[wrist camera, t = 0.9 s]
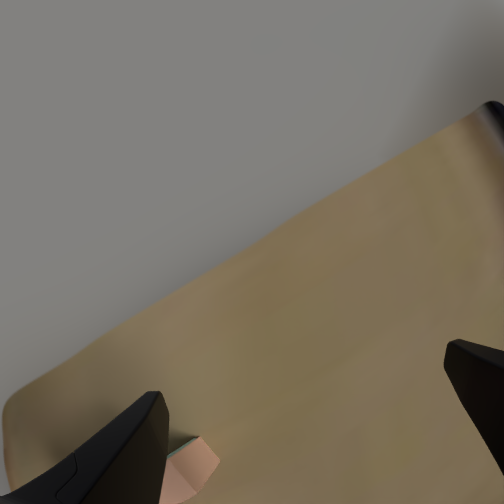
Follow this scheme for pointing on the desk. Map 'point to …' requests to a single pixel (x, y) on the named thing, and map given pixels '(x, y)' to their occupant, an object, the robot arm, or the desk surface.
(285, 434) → the desk surface
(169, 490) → the tile
